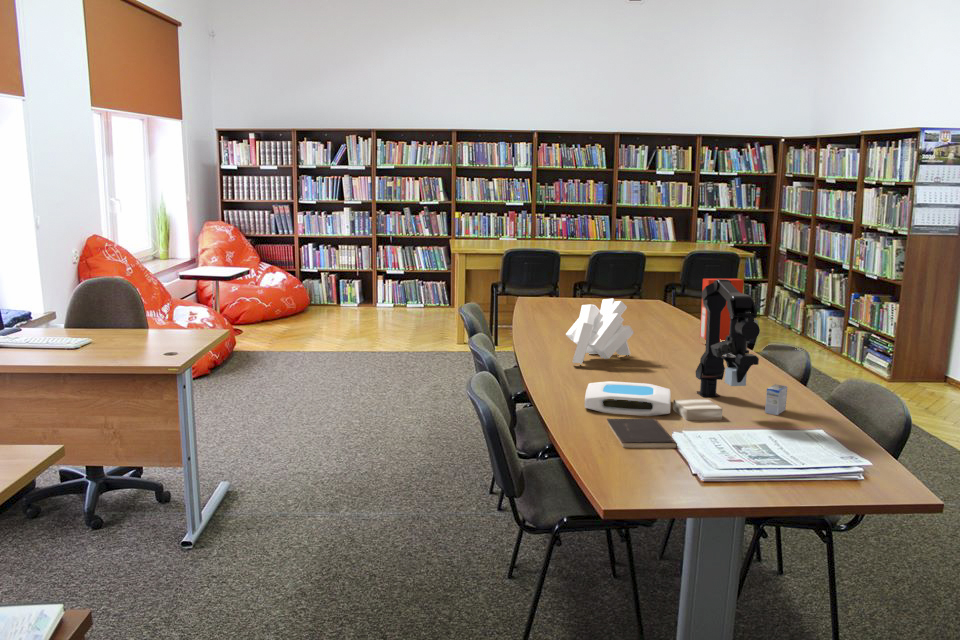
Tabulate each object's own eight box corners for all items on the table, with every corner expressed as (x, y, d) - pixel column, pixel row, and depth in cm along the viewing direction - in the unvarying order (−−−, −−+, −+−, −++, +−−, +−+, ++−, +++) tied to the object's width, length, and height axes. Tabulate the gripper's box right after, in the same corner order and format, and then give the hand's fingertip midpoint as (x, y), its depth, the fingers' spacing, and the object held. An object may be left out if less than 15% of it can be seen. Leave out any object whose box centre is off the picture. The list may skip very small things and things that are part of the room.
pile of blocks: (620, 385, 313) (656, 308, 315) (554, 353, 317) (590, 278, 319) (614, 387, 347) (646, 318, 349) (555, 359, 352) (587, 291, 354)
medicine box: (772, 408, 261) (774, 383, 260) (785, 410, 258) (787, 386, 257) (764, 413, 255) (766, 388, 254) (778, 415, 252) (780, 390, 251)
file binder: (699, 342, 379) (702, 278, 374) (732, 341, 380) (736, 278, 375) (705, 345, 371) (709, 280, 366) (739, 345, 372) (743, 280, 367)
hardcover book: (621, 449, 219) (622, 442, 218) (606, 425, 241) (606, 418, 241) (676, 449, 219) (677, 442, 219) (656, 425, 242) (656, 418, 241)
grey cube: (724, 382, 252) (725, 367, 252) (738, 382, 253) (739, 367, 252) (731, 386, 248) (732, 371, 247) (745, 385, 248) (746, 370, 247)
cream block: (673, 411, 258) (673, 399, 257) (706, 410, 259) (707, 398, 259) (686, 421, 246) (686, 409, 245) (721, 420, 247) (722, 408, 247)
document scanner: (669, 418, 249) (670, 399, 248) (584, 412, 255) (584, 394, 254) (668, 401, 269) (669, 384, 268) (589, 396, 275) (590, 379, 274)
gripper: (703, 329, 256) (700, 374, 258) (727, 339, 237) (724, 387, 240) (734, 328, 257) (731, 373, 260) (761, 339, 239) (757, 387, 241)
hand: (735, 380), depth 250 cm, fingers closed on grey cube, 5 cm apart
